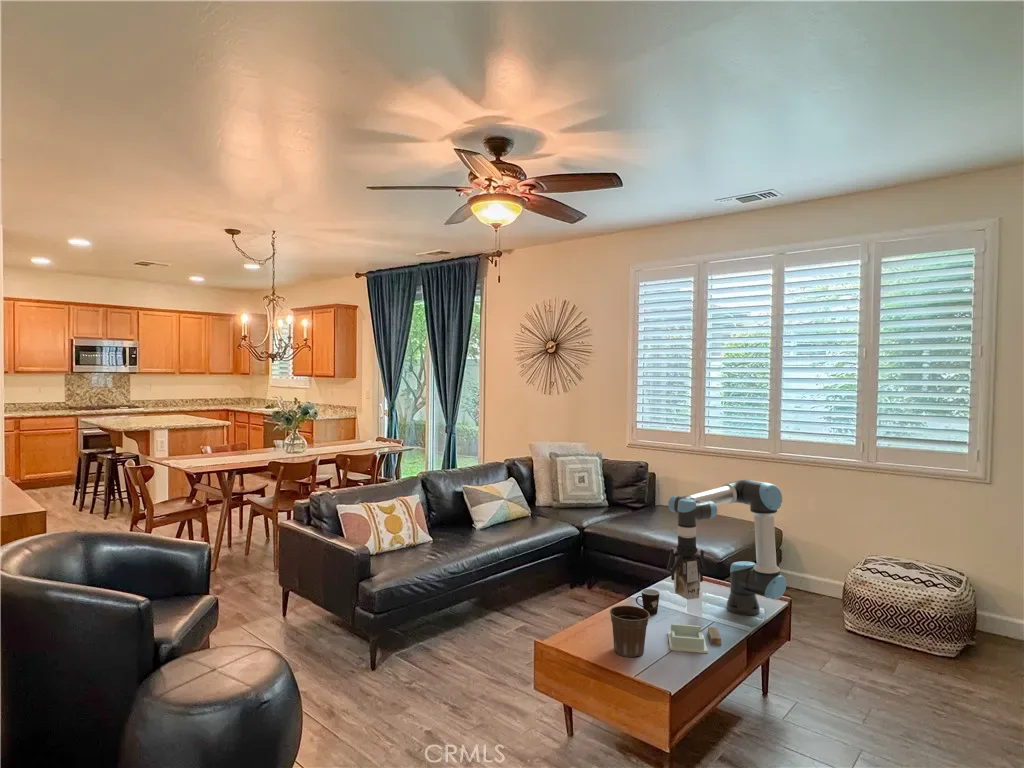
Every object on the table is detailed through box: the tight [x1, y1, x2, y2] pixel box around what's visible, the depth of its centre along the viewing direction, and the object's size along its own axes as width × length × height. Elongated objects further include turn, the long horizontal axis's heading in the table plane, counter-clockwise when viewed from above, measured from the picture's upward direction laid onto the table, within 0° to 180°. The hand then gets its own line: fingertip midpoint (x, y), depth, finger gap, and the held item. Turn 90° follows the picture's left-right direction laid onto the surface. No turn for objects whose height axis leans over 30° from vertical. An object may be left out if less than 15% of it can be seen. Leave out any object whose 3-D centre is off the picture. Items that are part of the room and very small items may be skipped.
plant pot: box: [609, 605, 651, 658], centre depth 251 cm, size 16×16×16 cm
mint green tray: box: [667, 623, 709, 654], centre depth 259 cm, size 15×17×5 cm
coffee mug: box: [635, 588, 660, 616], centre depth 293 cm, size 12×9×10 cm
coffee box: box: [674, 555, 700, 600], centre depth 259 cm, size 9×6×16 cm
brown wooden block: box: [707, 626, 722, 646], centre depth 263 cm, size 4×12×3 cm, turn 168°
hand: (686, 588), depth 259 cm, fingers closed on coffee box, 9 cm apart
